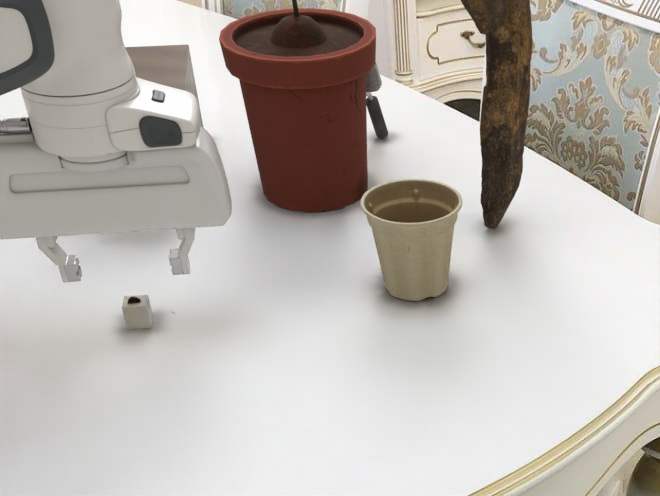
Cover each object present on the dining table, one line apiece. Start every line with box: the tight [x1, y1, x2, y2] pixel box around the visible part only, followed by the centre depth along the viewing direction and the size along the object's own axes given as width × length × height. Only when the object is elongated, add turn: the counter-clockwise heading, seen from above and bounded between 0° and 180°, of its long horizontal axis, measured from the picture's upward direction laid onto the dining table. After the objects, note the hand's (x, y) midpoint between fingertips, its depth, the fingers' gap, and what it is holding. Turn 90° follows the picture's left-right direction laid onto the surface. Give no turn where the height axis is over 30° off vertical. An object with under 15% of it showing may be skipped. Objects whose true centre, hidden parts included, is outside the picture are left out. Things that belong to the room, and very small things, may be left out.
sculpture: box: [460, 0, 533, 230], centre depth 106 cm, size 7×7×30 cm
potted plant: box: [218, 0, 389, 213], centre depth 116 cm, size 18×22×25 cm
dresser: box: [125, 44, 204, 128], centre depth 122 cm, size 15×13×11 cm
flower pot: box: [359, 178, 463, 302], centre depth 105 cm, size 9×9×9 cm
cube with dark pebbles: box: [121, 294, 154, 330], centre depth 102 cm, size 2×2×2 cm
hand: (127, 275), depth 99 cm, fingers open, 8 cm apart
